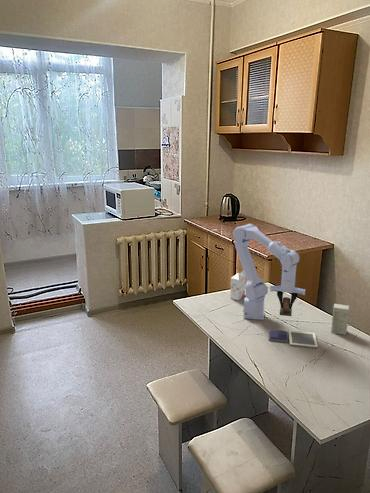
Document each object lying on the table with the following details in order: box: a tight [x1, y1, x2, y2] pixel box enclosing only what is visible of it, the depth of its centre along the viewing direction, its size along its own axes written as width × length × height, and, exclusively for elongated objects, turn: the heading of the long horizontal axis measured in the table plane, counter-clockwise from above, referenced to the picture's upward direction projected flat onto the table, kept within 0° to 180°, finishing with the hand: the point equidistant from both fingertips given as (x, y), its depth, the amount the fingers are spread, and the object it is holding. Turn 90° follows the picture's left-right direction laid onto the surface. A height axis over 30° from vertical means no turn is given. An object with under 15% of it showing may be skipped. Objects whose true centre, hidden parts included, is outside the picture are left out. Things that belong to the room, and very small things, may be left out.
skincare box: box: [330, 303, 350, 336], centre depth 161 cm, size 6×4×12 cm
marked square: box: [287, 330, 319, 349], centre depth 156 cm, size 11×11×1 cm
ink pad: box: [267, 329, 289, 344], centre depth 158 cm, size 8×7×2 cm
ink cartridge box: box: [230, 269, 246, 301], centre depth 196 cm, size 9×5×15 cm, turn 148°
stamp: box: [279, 296, 293, 317], centre depth 163 cm, size 5×5×7 cm
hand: (286, 307), depth 163 cm, fingers closed on stamp, 3 cm apart
